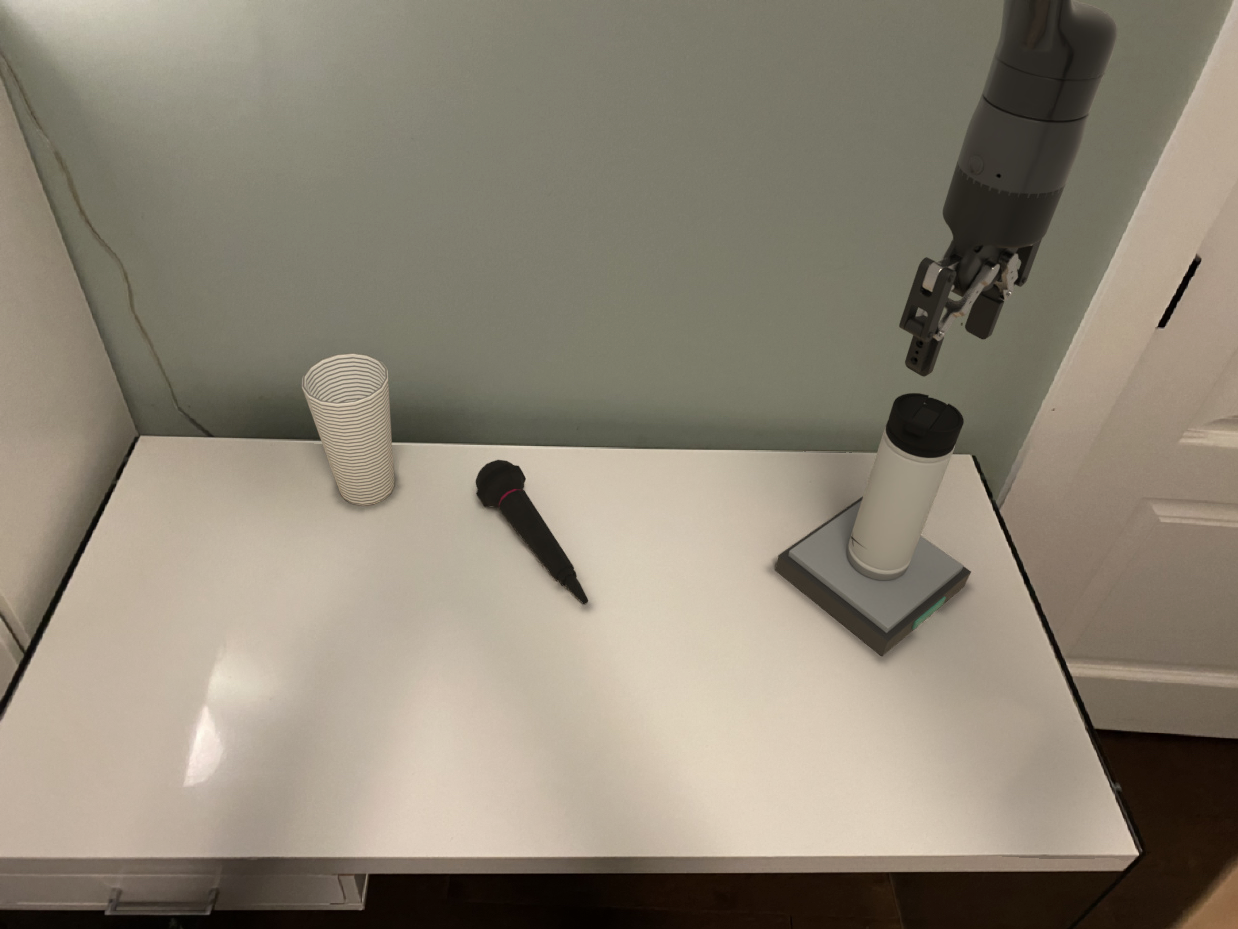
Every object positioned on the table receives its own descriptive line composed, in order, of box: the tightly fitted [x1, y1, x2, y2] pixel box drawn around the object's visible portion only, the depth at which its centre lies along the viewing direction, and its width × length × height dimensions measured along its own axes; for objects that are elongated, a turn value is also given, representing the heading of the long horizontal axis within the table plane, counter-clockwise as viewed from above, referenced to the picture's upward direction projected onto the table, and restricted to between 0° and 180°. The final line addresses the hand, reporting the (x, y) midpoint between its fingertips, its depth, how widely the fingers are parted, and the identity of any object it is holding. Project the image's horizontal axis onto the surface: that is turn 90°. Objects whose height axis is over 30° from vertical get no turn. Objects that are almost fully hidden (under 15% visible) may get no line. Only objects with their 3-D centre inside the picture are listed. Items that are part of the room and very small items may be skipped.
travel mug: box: [847, 392, 965, 581], centre depth 86 cm, size 6×7×20 cm
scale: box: [774, 496, 972, 657], centre depth 94 cm, size 14×14×3 cm
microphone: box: [475, 459, 589, 605], centre depth 96 cm, size 6×6×20 cm
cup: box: [301, 352, 395, 506], centre depth 97 cm, size 8×8×16 cm
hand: (948, 351), depth 76 cm, fingers open, 8 cm apart
